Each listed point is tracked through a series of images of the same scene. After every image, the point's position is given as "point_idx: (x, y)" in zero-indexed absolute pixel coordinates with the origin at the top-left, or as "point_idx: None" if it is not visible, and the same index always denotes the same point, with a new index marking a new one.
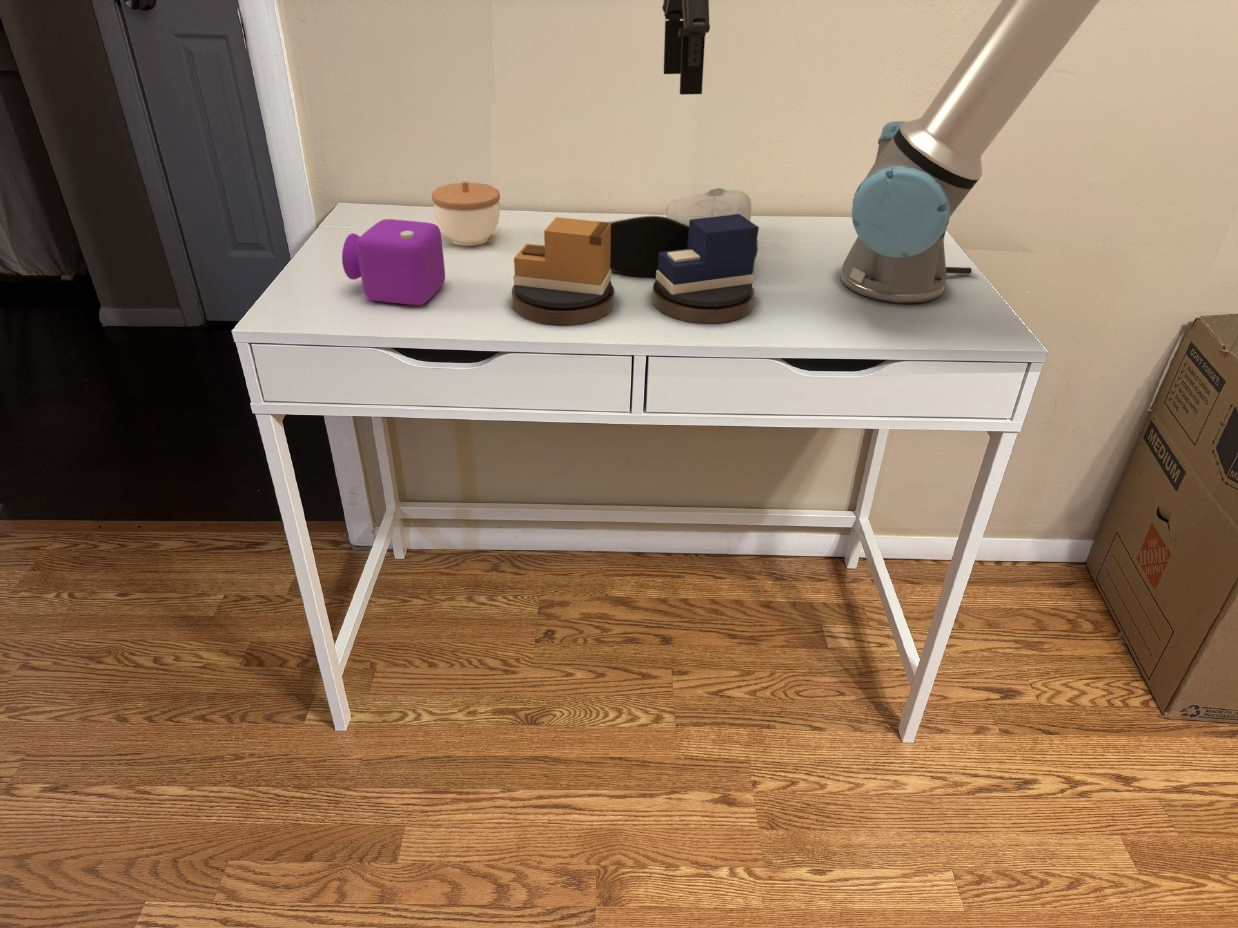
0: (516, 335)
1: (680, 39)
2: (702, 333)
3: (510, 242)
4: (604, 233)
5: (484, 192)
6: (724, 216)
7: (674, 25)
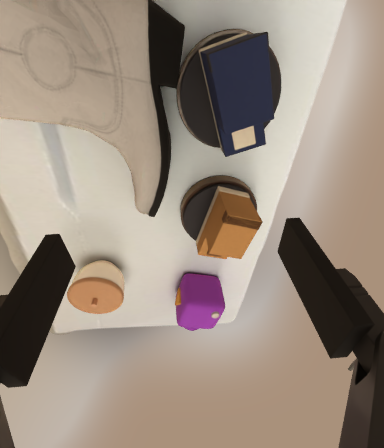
0: (261, 231)
1: (27, 310)
2: (290, 104)
3: (102, 247)
4: (251, 219)
5: (94, 289)
6: (218, 83)
7: (19, 361)
